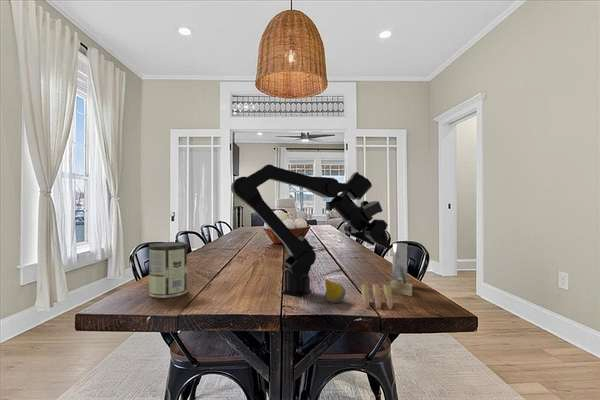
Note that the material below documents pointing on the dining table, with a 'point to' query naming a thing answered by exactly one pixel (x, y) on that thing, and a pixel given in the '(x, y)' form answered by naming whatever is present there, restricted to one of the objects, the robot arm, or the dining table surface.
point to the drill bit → (334, 292)
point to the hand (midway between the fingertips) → (381, 246)
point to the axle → (400, 261)
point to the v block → (400, 287)
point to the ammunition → (377, 295)
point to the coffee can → (168, 269)
